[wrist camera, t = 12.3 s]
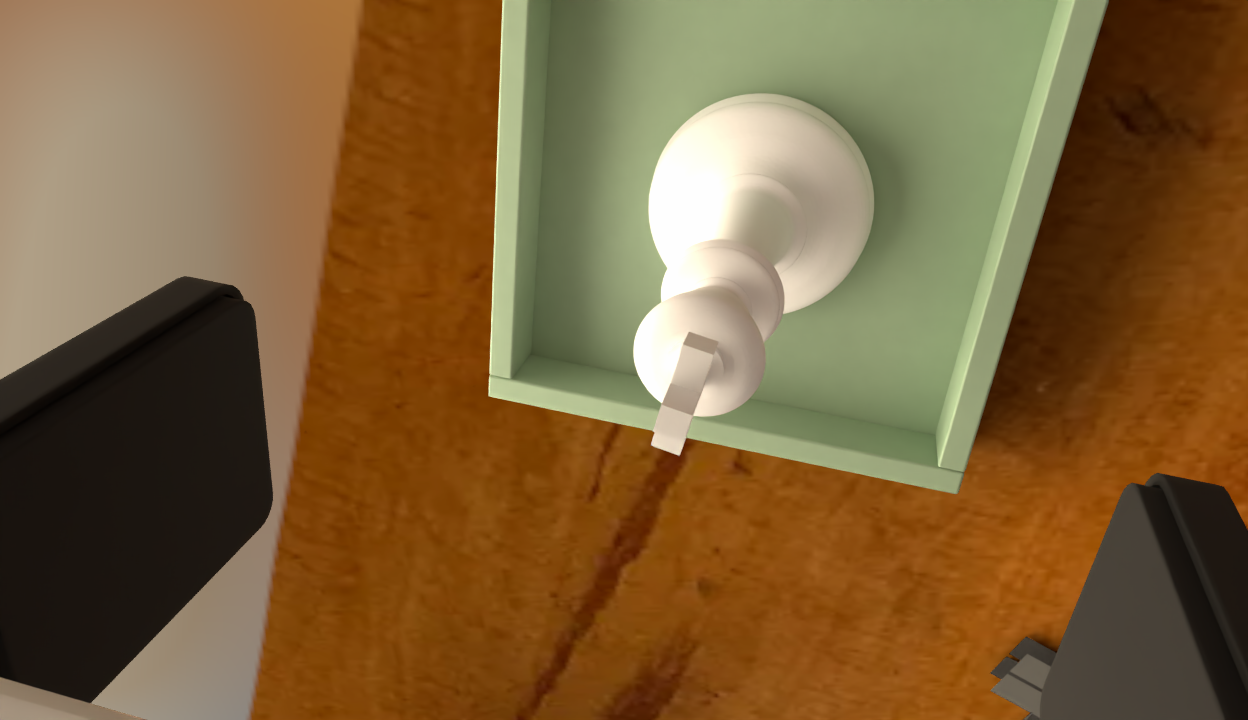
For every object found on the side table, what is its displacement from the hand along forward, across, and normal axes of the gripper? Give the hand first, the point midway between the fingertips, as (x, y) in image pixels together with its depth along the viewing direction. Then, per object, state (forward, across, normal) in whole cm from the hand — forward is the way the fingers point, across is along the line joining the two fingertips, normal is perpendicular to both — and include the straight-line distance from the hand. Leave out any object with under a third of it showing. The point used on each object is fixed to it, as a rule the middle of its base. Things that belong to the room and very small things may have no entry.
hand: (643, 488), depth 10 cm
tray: (+13, 0, +1) cm, 13 cm away
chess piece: (+13, 0, +1) cm, 13 cm away
